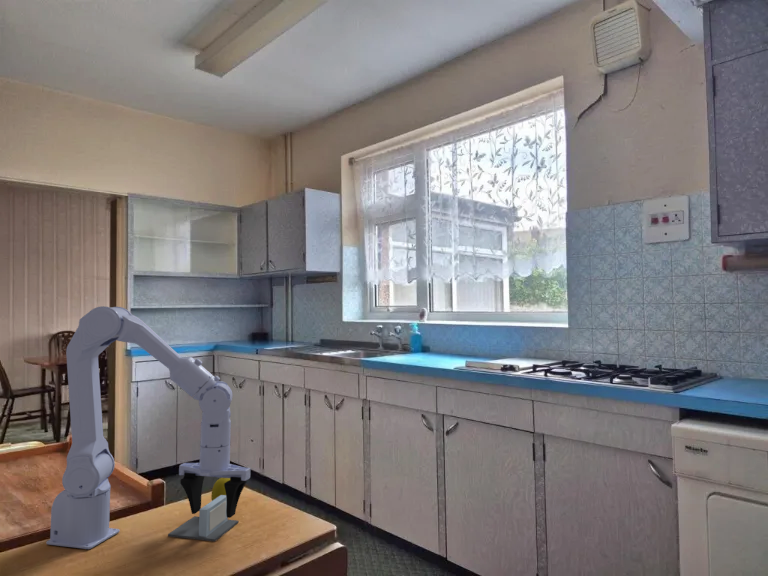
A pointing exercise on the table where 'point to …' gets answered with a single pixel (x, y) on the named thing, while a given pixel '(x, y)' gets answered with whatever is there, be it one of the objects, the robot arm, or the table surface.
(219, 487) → the lemon
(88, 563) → the table surface
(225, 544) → the table surface
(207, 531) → the plaque
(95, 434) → the robot arm
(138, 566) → the table surface
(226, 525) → the mat
